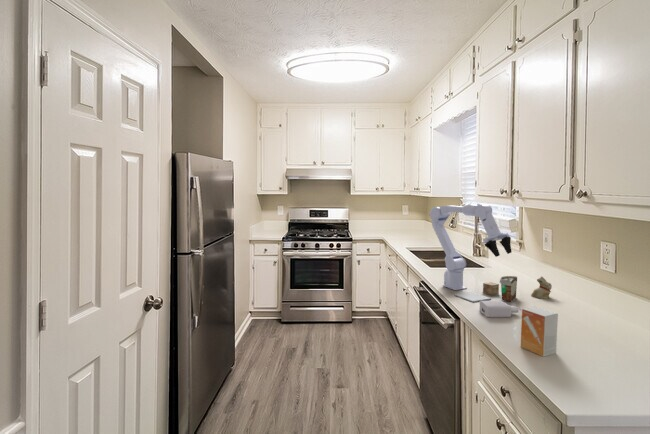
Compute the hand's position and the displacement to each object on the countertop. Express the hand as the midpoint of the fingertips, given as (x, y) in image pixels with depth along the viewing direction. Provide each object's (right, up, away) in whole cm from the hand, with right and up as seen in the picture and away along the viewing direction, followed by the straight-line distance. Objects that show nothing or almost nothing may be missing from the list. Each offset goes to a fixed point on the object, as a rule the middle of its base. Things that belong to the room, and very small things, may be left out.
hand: (503, 254), depth 173 cm
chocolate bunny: (+21, -21, +6) cm, 30 cm away
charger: (-10, -23, -18) cm, 31 cm away
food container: (+2, -21, +3) cm, 22 cm away
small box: (-14, -26, -53) cm, 61 cm away
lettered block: (-1, -20, +12) cm, 24 cm away
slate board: (-13, -21, +5) cm, 25 cm away
